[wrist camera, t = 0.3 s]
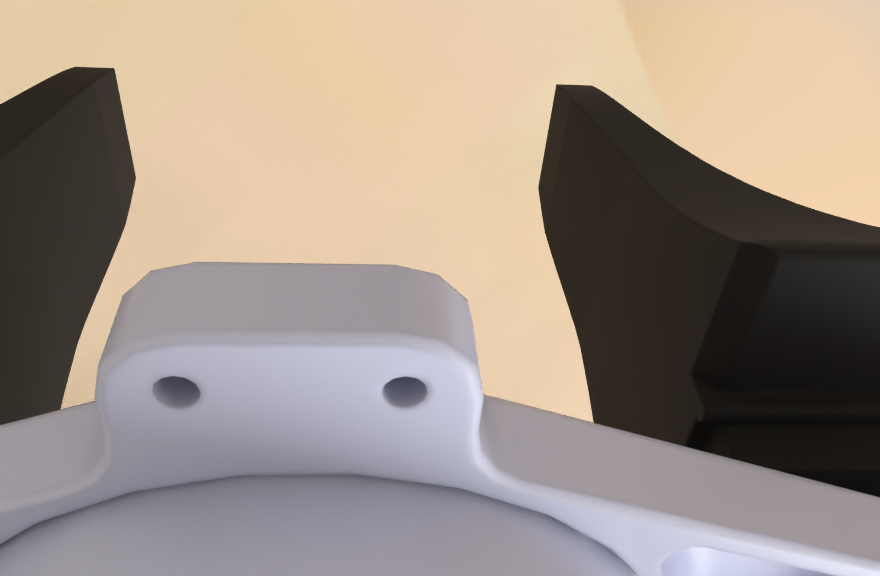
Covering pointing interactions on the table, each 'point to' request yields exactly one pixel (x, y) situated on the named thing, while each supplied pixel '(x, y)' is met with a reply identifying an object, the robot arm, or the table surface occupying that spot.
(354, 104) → the table surface
